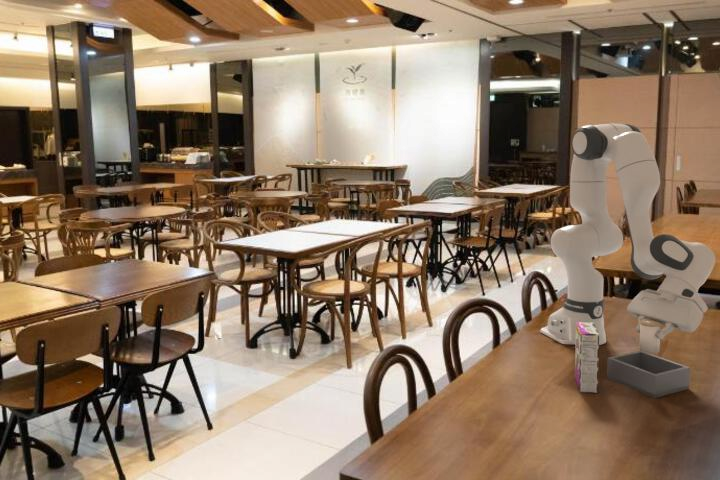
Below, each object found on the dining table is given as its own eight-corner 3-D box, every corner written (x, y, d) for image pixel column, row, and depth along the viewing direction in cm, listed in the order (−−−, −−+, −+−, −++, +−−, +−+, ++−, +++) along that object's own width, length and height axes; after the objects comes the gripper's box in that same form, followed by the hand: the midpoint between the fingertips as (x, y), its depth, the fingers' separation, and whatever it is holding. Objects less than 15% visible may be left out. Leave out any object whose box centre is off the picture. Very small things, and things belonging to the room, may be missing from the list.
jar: (635, 348, 178) (636, 320, 177) (648, 346, 180) (649, 318, 179) (650, 353, 173) (651, 324, 172) (663, 351, 176) (664, 322, 174)
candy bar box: (573, 377, 184) (575, 321, 181) (592, 378, 183) (594, 322, 180) (578, 392, 173) (580, 333, 171) (598, 393, 172) (600, 334, 170)
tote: (606, 378, 183) (607, 357, 182) (639, 370, 188) (640, 350, 187) (654, 398, 169) (655, 376, 168) (688, 388, 174) (690, 367, 173)
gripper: (638, 281, 187) (612, 318, 184) (703, 295, 168) (675, 337, 166) (648, 294, 189) (623, 331, 186) (713, 309, 171) (686, 351, 168)
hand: (648, 334), depth 176 cm, fingers closed on jar, 5 cm apart
